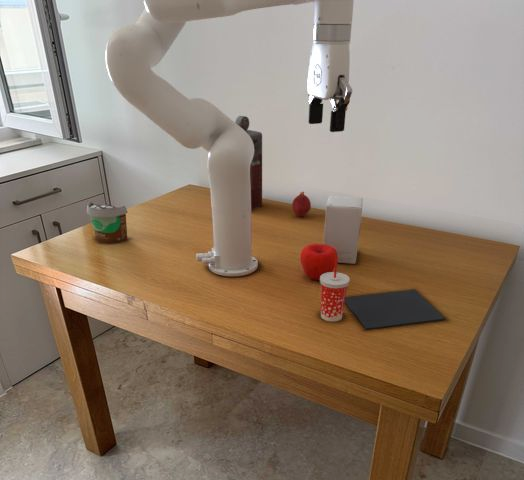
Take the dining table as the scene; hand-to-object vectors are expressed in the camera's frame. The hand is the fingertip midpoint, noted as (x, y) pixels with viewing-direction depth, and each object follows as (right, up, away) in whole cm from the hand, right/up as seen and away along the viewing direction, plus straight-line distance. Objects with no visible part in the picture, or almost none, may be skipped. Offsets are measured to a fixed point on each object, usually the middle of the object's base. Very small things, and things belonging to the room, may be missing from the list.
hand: (325, 127), depth 112 cm
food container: (-58, -17, +35) cm, 70 cm away
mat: (+15, -39, +2) cm, 42 cm away
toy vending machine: (-19, 0, +61) cm, 64 cm away
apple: (0, -31, +15) cm, 34 cm away
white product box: (+7, -24, +26) cm, 36 cm away
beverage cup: (+1, -41, -1) cm, 41 cm away
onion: (-1, -6, +52) cm, 53 cm away
